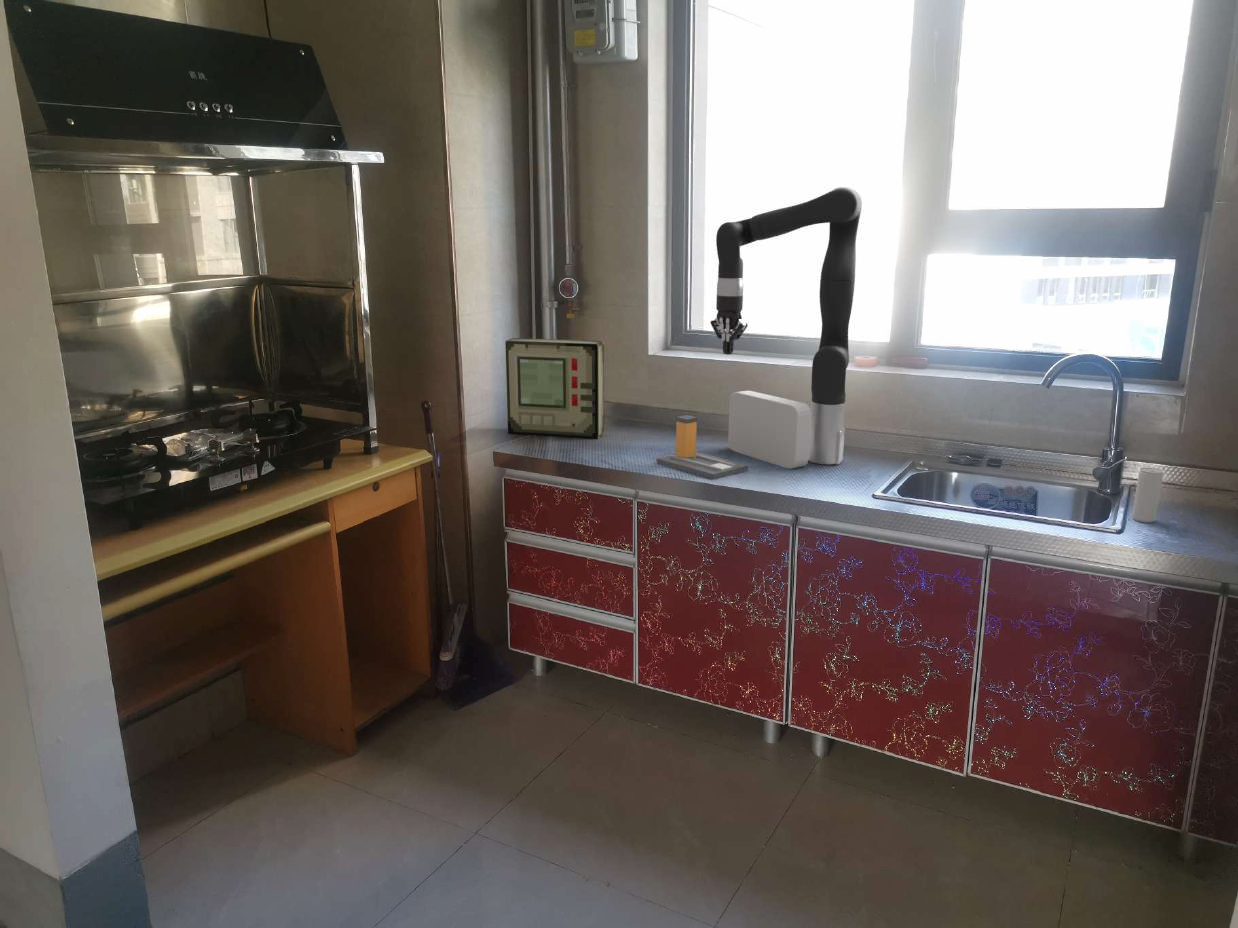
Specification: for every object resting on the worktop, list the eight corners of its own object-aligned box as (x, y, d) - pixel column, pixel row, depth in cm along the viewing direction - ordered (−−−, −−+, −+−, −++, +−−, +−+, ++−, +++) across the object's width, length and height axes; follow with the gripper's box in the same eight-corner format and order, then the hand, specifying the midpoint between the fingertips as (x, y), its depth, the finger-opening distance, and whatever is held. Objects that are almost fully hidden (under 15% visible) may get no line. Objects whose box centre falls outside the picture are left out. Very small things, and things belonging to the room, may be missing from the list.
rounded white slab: (814, 466, 256) (818, 403, 251) (794, 470, 252) (798, 406, 247) (746, 446, 279) (749, 388, 274) (727, 449, 275) (729, 390, 270)
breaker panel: (656, 463, 259) (656, 456, 258) (691, 455, 268) (691, 448, 267) (713, 479, 243) (713, 472, 242) (748, 470, 252) (748, 463, 251)
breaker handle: (675, 455, 259) (676, 417, 257) (685, 453, 262) (686, 415, 259) (685, 458, 256) (686, 419, 253) (696, 455, 259) (697, 417, 256)
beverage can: (1147, 516, 214) (1155, 467, 210) (1160, 523, 209) (1168, 472, 206) (1127, 516, 213) (1135, 467, 210) (1139, 523, 209) (1147, 472, 206)
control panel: (508, 434, 294) (505, 341, 286) (516, 429, 301) (513, 338, 293) (597, 439, 287) (597, 344, 279) (604, 434, 294) (603, 341, 286)
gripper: (756, 294, 259) (753, 355, 264) (721, 292, 269) (719, 350, 273) (738, 296, 254) (736, 357, 259) (704, 293, 264) (702, 352, 269)
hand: (727, 354), depth 266 cm, fingers closed
